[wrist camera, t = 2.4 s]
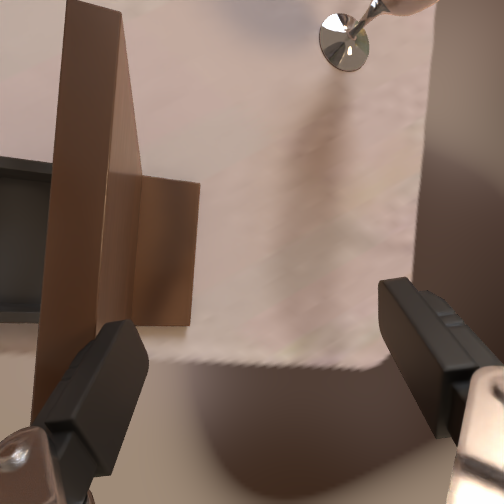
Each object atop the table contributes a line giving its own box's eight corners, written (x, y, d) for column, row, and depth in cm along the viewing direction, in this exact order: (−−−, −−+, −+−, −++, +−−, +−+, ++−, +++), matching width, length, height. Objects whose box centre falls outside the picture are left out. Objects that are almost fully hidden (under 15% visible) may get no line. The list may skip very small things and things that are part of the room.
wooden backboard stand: (-19, 322, 29) (-645, 572, 6) (-5, 158, 30) (-541, -170, 7) (188, 323, 35) (260, 461, 12) (199, 185, 35) (287, 56, 12)
